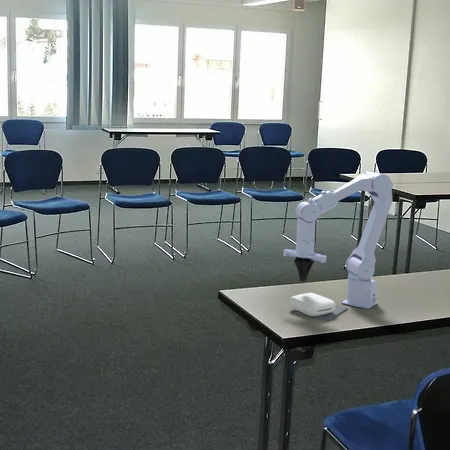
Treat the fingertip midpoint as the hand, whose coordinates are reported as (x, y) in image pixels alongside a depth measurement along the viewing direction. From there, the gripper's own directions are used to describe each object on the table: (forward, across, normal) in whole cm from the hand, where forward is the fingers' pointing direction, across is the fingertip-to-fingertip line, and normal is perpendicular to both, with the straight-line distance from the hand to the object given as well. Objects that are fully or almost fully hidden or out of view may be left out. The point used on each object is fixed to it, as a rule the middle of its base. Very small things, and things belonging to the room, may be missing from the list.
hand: (303, 280), depth 219 cm
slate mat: (+9, +7, 0) cm, 11 cm away
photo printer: (+6, 0, -1) cm, 6 cm away
